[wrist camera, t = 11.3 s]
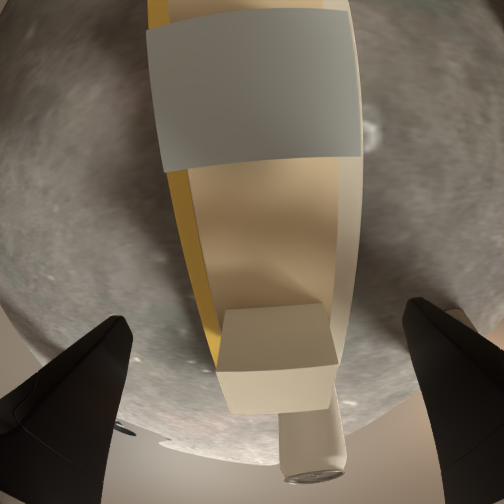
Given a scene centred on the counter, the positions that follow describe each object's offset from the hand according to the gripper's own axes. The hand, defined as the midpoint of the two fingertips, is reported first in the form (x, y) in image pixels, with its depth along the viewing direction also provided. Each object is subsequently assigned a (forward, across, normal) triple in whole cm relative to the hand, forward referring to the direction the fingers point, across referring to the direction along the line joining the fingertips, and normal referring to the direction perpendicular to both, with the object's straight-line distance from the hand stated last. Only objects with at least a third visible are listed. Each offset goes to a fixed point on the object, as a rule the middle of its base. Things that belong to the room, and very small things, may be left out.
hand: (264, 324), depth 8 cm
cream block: (+5, 0, +6) cm, 7 cm away
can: (+12, -3, +22) cm, 25 cm away
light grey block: (+5, 0, -6) cm, 8 cm away
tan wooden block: (+9, 0, 0) cm, 9 cm away
